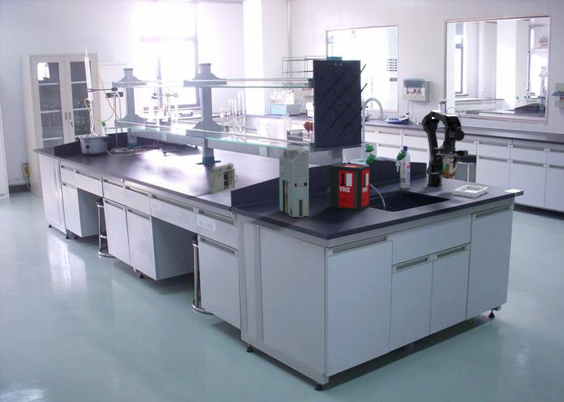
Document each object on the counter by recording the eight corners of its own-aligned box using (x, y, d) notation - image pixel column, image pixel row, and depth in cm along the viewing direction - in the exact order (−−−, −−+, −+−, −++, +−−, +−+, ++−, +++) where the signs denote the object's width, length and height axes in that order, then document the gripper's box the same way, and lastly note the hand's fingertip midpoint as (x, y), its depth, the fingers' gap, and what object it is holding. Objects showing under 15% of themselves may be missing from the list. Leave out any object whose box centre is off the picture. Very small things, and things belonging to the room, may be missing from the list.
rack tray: (452, 195, 329) (453, 190, 329) (466, 189, 343) (466, 185, 343) (475, 197, 322) (475, 193, 321) (488, 192, 336) (488, 187, 335)
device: (279, 210, 298) (279, 147, 291) (294, 209, 300) (294, 146, 294) (292, 218, 283) (292, 151, 276) (308, 216, 285) (308, 150, 279)
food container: (445, 173, 346) (448, 155, 343) (456, 176, 343) (459, 158, 340) (435, 176, 337) (439, 158, 334) (446, 179, 333) (450, 161, 330)
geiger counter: (214, 167, 335) (241, 161, 355) (204, 166, 338) (232, 160, 359) (215, 193, 338) (242, 186, 358) (205, 192, 341) (232, 184, 362)
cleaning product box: (329, 206, 304) (330, 165, 300) (338, 203, 312) (338, 163, 308) (361, 210, 296) (361, 168, 292) (369, 207, 303) (370, 165, 299)
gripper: (426, 139, 334) (425, 168, 337) (460, 141, 323) (459, 171, 326) (435, 137, 342) (434, 165, 346) (469, 139, 331) (467, 168, 334)
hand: (448, 167), depth 338 cm, fingers closed on food container, 6 cm apart
